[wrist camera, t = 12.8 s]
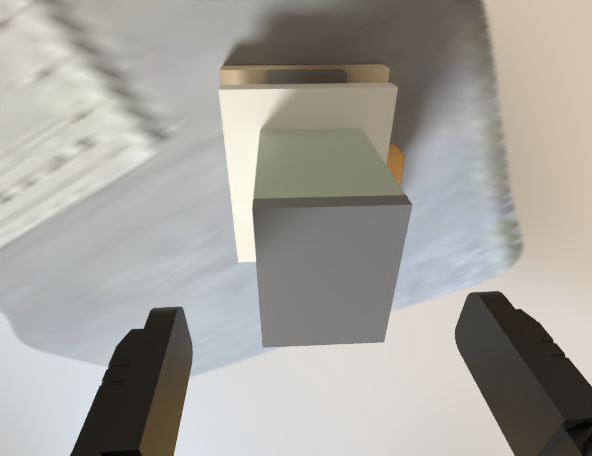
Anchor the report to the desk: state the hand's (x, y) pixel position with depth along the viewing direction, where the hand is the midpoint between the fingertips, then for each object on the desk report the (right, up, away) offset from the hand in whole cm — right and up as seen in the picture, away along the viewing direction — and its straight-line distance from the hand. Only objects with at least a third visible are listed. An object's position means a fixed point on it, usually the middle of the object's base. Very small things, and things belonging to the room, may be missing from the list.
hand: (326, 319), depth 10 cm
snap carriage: (0, +6, +9) cm, 11 cm away
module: (0, +5, +8) cm, 9 cm away
